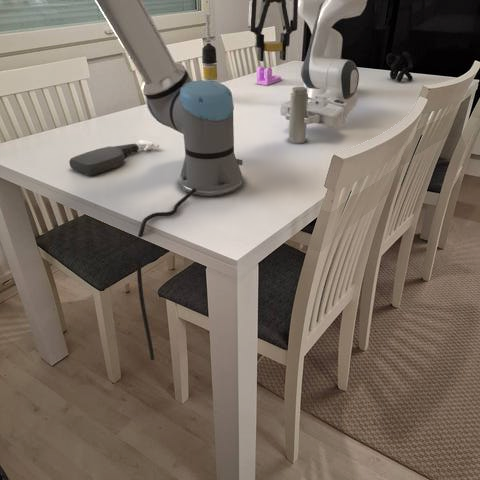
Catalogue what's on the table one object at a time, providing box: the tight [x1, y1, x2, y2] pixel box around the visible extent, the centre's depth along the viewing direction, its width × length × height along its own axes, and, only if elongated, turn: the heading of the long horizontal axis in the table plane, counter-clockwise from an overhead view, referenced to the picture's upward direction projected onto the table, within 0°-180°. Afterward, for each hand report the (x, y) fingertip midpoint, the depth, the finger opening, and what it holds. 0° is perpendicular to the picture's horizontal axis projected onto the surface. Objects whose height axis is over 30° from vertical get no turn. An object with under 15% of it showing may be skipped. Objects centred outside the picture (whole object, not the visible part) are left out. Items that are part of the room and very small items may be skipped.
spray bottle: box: [68, 139, 160, 177], centre depth 124 cm, size 3×11×24 cm
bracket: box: [256, 66, 282, 86], centre depth 200 cm, size 13×6×7 cm, turn 143°
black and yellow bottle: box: [201, 14, 219, 83], centre depth 171 cm, size 6×6×30 cm
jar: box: [288, 86, 309, 144], centre depth 132 cm, size 5×5×16 cm
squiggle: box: [385, 51, 414, 83], centre depth 198 cm, size 11×10×15 cm
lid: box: [264, 40, 283, 53], centre depth 120 cm, size 6×6×2 cm
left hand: (271, 59), depth 122 cm, fingers closed on lid, 6 cm apart
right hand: (296, 119), depth 131 cm, fingers closed on jar, 5 cm apart
